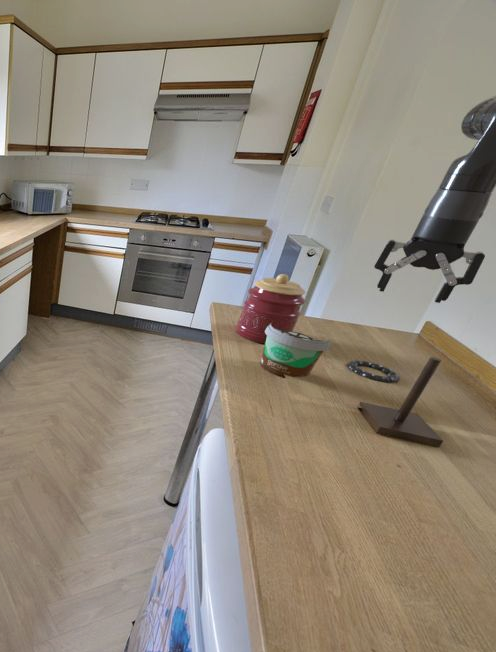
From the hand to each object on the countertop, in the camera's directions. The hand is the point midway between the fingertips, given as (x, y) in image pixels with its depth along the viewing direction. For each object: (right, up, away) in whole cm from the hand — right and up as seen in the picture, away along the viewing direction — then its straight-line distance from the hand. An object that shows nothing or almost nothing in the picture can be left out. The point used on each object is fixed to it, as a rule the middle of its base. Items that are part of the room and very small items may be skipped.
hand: (408, 296), depth 85 cm
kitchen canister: (-11, -8, +29) cm, 32 cm away
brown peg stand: (-11, -25, -8) cm, 29 cm away
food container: (-20, -17, +9) cm, 28 cm away
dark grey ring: (+2, -17, +10) cm, 19 cm away
